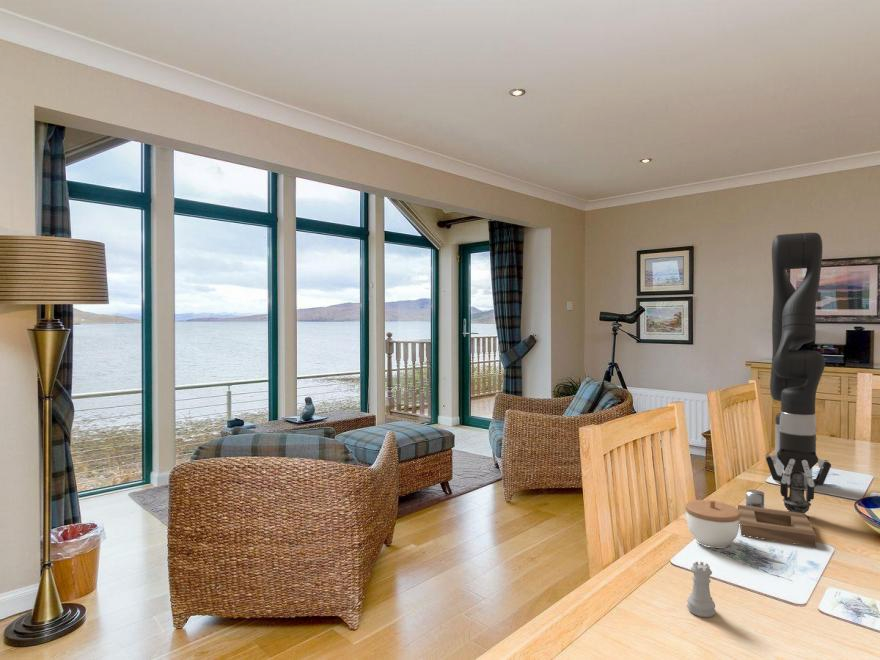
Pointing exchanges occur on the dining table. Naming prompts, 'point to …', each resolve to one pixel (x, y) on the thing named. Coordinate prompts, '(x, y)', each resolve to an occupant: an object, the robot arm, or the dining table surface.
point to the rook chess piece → (701, 592)
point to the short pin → (755, 498)
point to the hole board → (794, 534)
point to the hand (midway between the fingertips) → (796, 498)
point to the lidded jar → (712, 522)
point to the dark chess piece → (797, 495)
